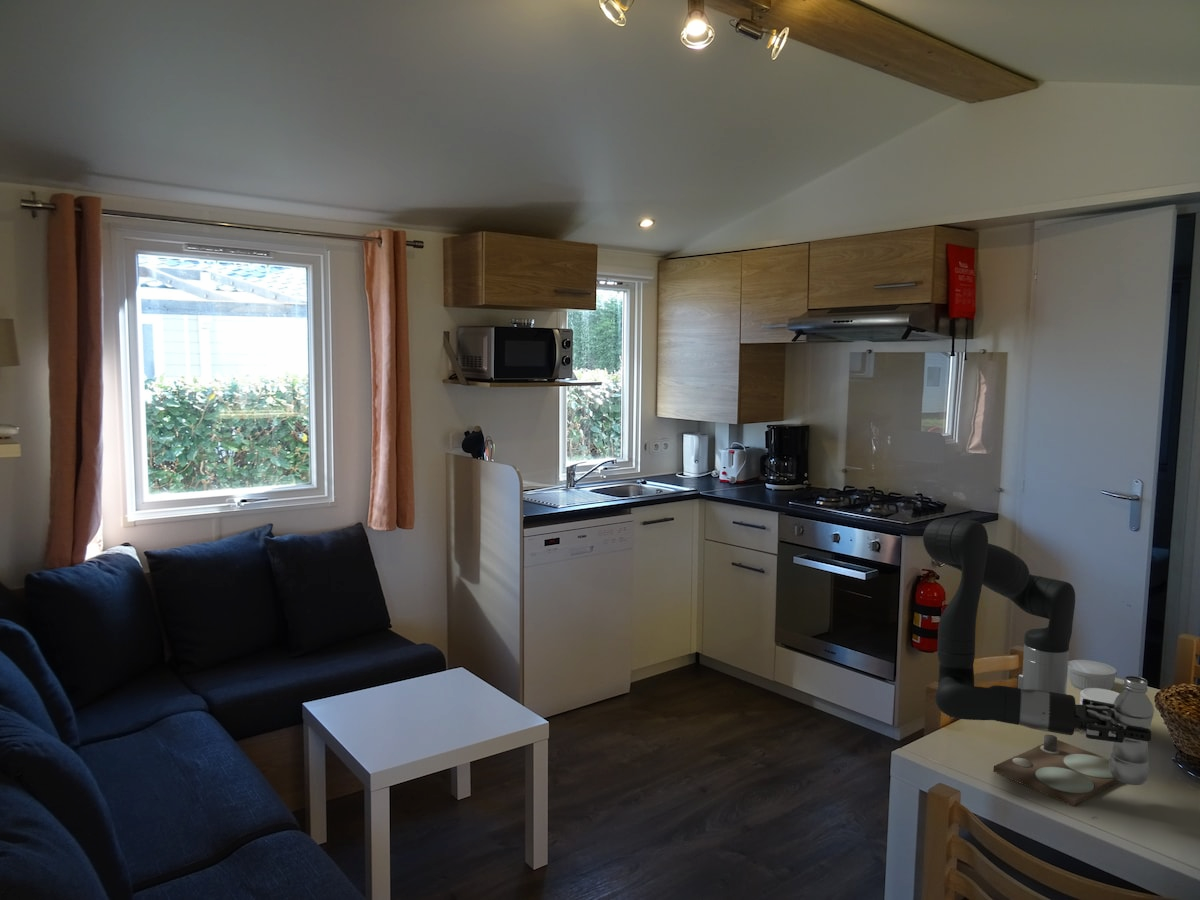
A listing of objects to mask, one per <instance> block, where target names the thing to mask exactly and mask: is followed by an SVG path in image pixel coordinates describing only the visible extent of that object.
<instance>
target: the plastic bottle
mask: <svg viewBox="0 0 1200 900" xmlns="http://www.w3.org/2000/svg"><path fill="white" fill-rule="evenodd" d="M1123 681H1124V683H1123V687H1122V688H1124V690H1123V691H1121V692H1120V694H1119V695H1118V696H1117V697H1116V699H1115V701H1114V713H1115V722H1118V723H1121V724H1124V725H1130V726H1136V727H1142V728H1148V729H1150V730H1151V725H1152V722H1153V717H1154V714H1155V713H1154V712H1155V709H1154V705H1153V703H1152V701H1151V700H1150V698H1149V697H1148V695H1147V694H1146V693H1147V692H1148V680H1147V679H1145V678H1143V677H1140V676H1135V675H1126V676H1125V677H1124V680H1123ZM1148 743H1149V742H1147V741H1141V740H1136V739H1130V738H1126V739H1123V743H1119V742H1113V748H1112V752H1111V754H1110V757H1109V759H1110V761H1109V768H1110V772H1111V774H1112V776H1113V777H1114V778H1115V779H1116V780H1118V781H1119V782H1120V783H1123V784H1125V785H1130V786H1142V785H1144V784H1145V783H1146V782H1147V781H1148V780H1149V776H1150V762H1149V758H1148V757H1149V756H1148V754H1149V751H1148V749H1149V748H1148V746H1149V745H1148Z"/></svg>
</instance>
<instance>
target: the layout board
mask: <svg viewBox="0 0 1200 900" xmlns="http://www.w3.org/2000/svg"><path fill="white" fill-rule="evenodd" d="M1109 761H1110V758H1107V757H1105V756H1102V755H1099V754H1097V753H1094V752H1092V751H1088V750H1086V749H1083V748H1080V747H1078V746H1075V745H1072V744H1069V743H1068V742H1064V741H1061V740H1060V739H1058V737H1057V736H1056V735H1053V734H1044V737H1043V744H1039V745H1038V746H1036V747H1032V748H1031V749H1028V750H1026V751H1024V752H1022V753H1019V754H1017V755H1015V756H1013V757H1010V758H1009V759H1006V760H1004V761H1002V762H1000V763H998V764H994V765H993V772H994V773H995V772H997V773H996V774H998V773H999V774H998V775H1000V774H1001V775H1000V776H1002V775H1004V776H1003V777H1005V776H1006V777H1005V778H1007V777H1009V778H1011V779H1010V780H1012V779H1013V781H1014V780H1016V781H1018V782H1017V783H1019V782H1021V783H1023V784H1026V785H1028V786H1030V787H1032V788H1031V789H1033V788H1034V790H1035V789H1036V790H1035V791H1037V790H1038V791H1037V792H1040V791H1041V792H1040V793H1042V792H1043V794H1044V793H1045V795H1047V794H1048V795H1047V796H1049V795H1050V796H1049V797H1051V796H1053V797H1052V798H1054V799H1056V798H1057V799H1056V800H1058V799H1059V801H1061V802H1063V801H1064V802H1063V803H1065V802H1066V804H1068V803H1069V804H1068V805H1070V806H1072V805H1073V807H1075V806H1077V805H1078V803H1079V804H1081V803H1082V802H1084V801H1086V800H1088V799H1090V798H1092V797H1094V796H1095V795H1097V794H1099V793H1100V791H1101V792H1103V791H1105V790H1107V789H1108V788H1110V787H1112V786H1114V785H1116V784H1117V783H1119V782H1120V781H1118V780H1116V779H1115V778H1114V777H1113V776H1112V774H1111V772H1110V768H1109ZM1009 778H1008V779H1009ZM1016 781H1015V782H1016ZM1021 783H1020V784H1021ZM1023 784H1022V785H1023ZM1026 785H1025V786H1026ZM1028 786H1027V787H1028ZM1030 787H1029V788H1030ZM1093 795H1094V796H1093ZM1091 796H1092V797H1091ZM1089 797H1090V798H1089ZM1080 802H1081V803H1080ZM1076 804H1077V805H1076ZM1074 805H1075V806H1074Z"/></svg>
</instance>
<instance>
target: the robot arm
mask: <svg viewBox="0 0 1200 900" xmlns="http://www.w3.org/2000/svg"><path fill="white" fill-rule="evenodd" d="M923 531H924V532H923V534H922V541H923V547H924V549H925V551H926V552H927V555H929V556H930V558H931V559H933V560H934V561H935V562H938V563H942V564H944V565H947V566H950V567H951V568H954V569H957V570H959V571H960V572H961V578H960V582H959V585H958V588H957V590H956V592H955V594H954V595H953V596H952V599H950V602H949V603H948V605H947V606H946V607H945V609H944V610H943V612H942V614H941V615H940V618H939V622H938V626H937V660H938V663H939V665H938V666H939V667H938V679H937V681H938V683H937V689H936V691H935V696H934V697H935V698H934V699H935V703H936V706H937V708H938V709H939V710H940V711H941V713H943V714H945V715H947V716H949V717H951V718H954V719H958V720H959V719H960V720H966V721H994V722H995V721H996V722H1000V723H1005V724H1010V725H1011V724H1012V725H1017V726H1022V727H1026V728H1028V729H1031V730H1032V729H1033V730H1037V731H1044V732H1048V733H1055V734H1059V735H1066V736H1073V735H1074V734H1075V729H1079V730H1082V731H1085V738H1087V739H1090V740H1097V741H1105V742H1113V743H1114V742H1119V743H1123V739H1126V738H1130V739H1136V740H1141V741H1147V742H1148V743H1149V742H1151V741H1152V730H1151V728H1150V729H1148V728H1142V727H1136V726H1130V725H1124V724H1121V723H1118V722H1115V713H1114V704H1109V703H1104V702H1099V701H1094V700H1089V699H1083V701H1082V705H1080V704H1076V698H1075V696H1074V695H1072V694H1068V693H1067V690H1068V689H1067V687H1068V662H1069V653H1070V642H1071V638H1072V634H1073V622H1074V614H1075V606H1076V592H1075V588H1074V586H1073V585H1072V584H1071V583H1070V582H1068V581H1064V580H1059V579H1055V578H1049V577H1045V576H1041V575H1033V574H1031V573H1030V569H1029V567H1028V565H1027V564H1026V562H1025V561H1024V560H1023V559H1022V558H1020V557H1019V556H1018V555H1016V554H1015V553H1013V552H1012V551H1010V550H1008V549H1006V548H1004V547H1001V546H1000V545H996V544H991V543H989V536H988V531H987V529H986V527H985V525H983V523H981V522H980V521H978V520H973V519H971V520H970V519H962V518H961V519H960V518H949V517H948V518H946V517H944V518H943V517H942V518H937V519H934V520H932V521H930V522H929V523H928V524H927V525H926V527H925V529H924V530H923ZM983 586H984V587H986V588H988V589H990V590H991V591H992V592H995V593H996V594H999V595H1001V596H1002V597H1004V598H1008V599H1009V600H1010V601H1012V602H1013V603H1014V605H1016V606H1017V607H1018V608H1019V609H1020V610H1022V611H1023V612H1025V613H1026V614H1029V615H1032V616H1036V617H1039V618H1044V619H1049V620H1048V624H1047V627H1042V628H1038V627H1037V628H1032V629H1029V630H1027V631H1026V632H1025V633H1024V641H1023V642H1024V643H1023V655H1022V656H1023V657H1022V658H1023V659H1022V660H1023V663H1022V673H1020V674H1018V679H1017V687H1013V686H1006V685H999V684H998V685H991V686H990V687H985V686H984V687H983V686H975V673H974V672H975V671H974V662H975V655H976V651H975V650H976V623H977V615H978V608H979V603H980V602H979V601H980V598H981V593H982V587H983ZM1103 711H1104V712H1103Z"/></svg>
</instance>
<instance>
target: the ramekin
mask: <svg viewBox="0 0 1200 900" xmlns="http://www.w3.org/2000/svg"><path fill="white" fill-rule="evenodd" d="M1117 674H1118V670H1117V669H1116V668H1115V667H1113V666H1111V665H1109V664H1107V663H1104V662H1102V661H1101V662H1100V661H1094V660H1089V659H1074V660H1068V673H1067V678H1068V681H1069V683H1070V684H1071V685H1072V686H1073V687H1074V688H1076V689H1078V690H1080V691H1082V690H1083V689H1087V688H1100V689H1106V690H1111V691H1112V689H1113V687H1114V683H1115V681H1116V680H1115V679H1116V676H1117Z"/></svg>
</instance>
